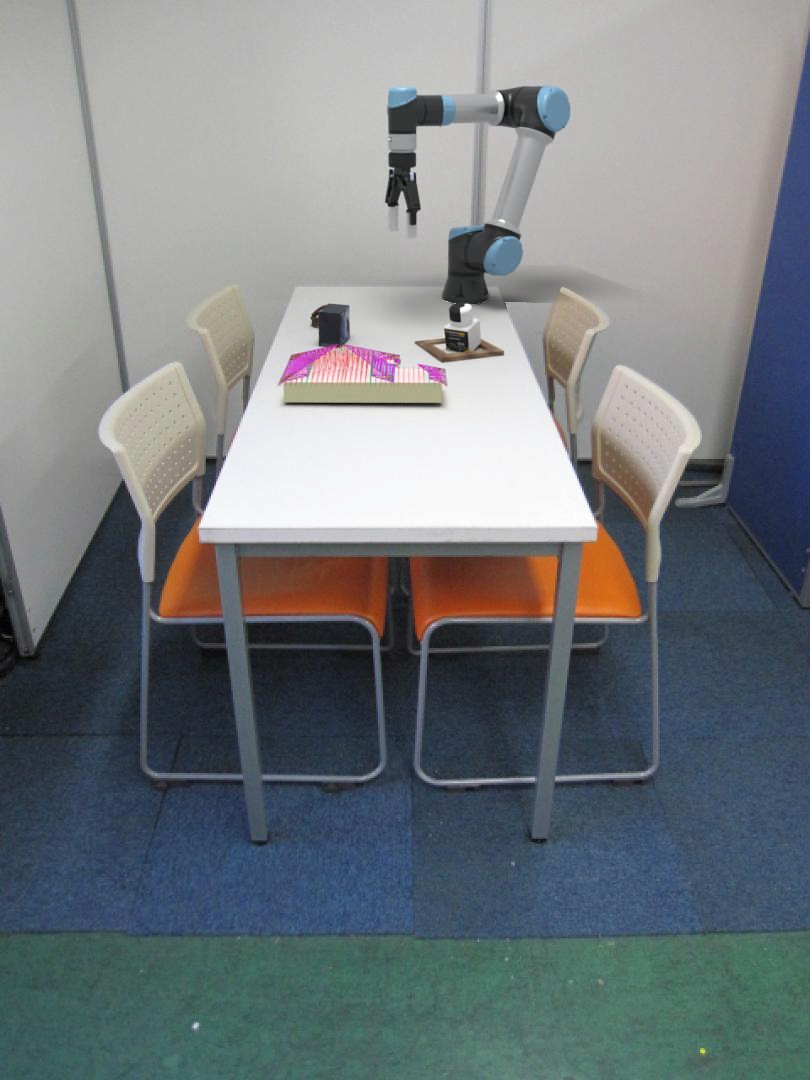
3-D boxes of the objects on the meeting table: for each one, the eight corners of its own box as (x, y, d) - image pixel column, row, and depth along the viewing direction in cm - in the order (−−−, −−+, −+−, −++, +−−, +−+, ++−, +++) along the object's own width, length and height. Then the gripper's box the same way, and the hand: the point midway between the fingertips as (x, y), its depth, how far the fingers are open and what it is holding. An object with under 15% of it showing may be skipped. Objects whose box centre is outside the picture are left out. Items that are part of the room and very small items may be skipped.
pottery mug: (348, 334, 252) (334, 310, 247) (320, 348, 254) (305, 325, 249) (349, 316, 261) (335, 293, 256) (321, 329, 263) (307, 307, 259)
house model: (443, 372, 219) (444, 331, 214) (447, 404, 196) (448, 359, 192) (292, 371, 219) (289, 331, 215) (278, 404, 197) (275, 359, 192)
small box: (341, 351, 235) (340, 312, 230) (318, 350, 236) (316, 311, 231) (351, 341, 244) (350, 303, 239) (329, 340, 245) (327, 302, 241)
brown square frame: (473, 340, 246) (473, 335, 245) (503, 356, 231) (504, 350, 230) (414, 346, 239) (414, 341, 239) (441, 363, 225) (441, 357, 224)
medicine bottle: (446, 351, 235) (441, 309, 227) (458, 339, 239) (454, 298, 232) (469, 355, 232) (465, 313, 224) (481, 343, 236) (478, 301, 229)
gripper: (373, 149, 244) (374, 229, 253) (407, 154, 223) (406, 241, 233) (398, 148, 246) (398, 227, 256) (433, 153, 226) (432, 239, 235)
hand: (402, 234), depth 244 cm, fingers open, 13 cm apart
